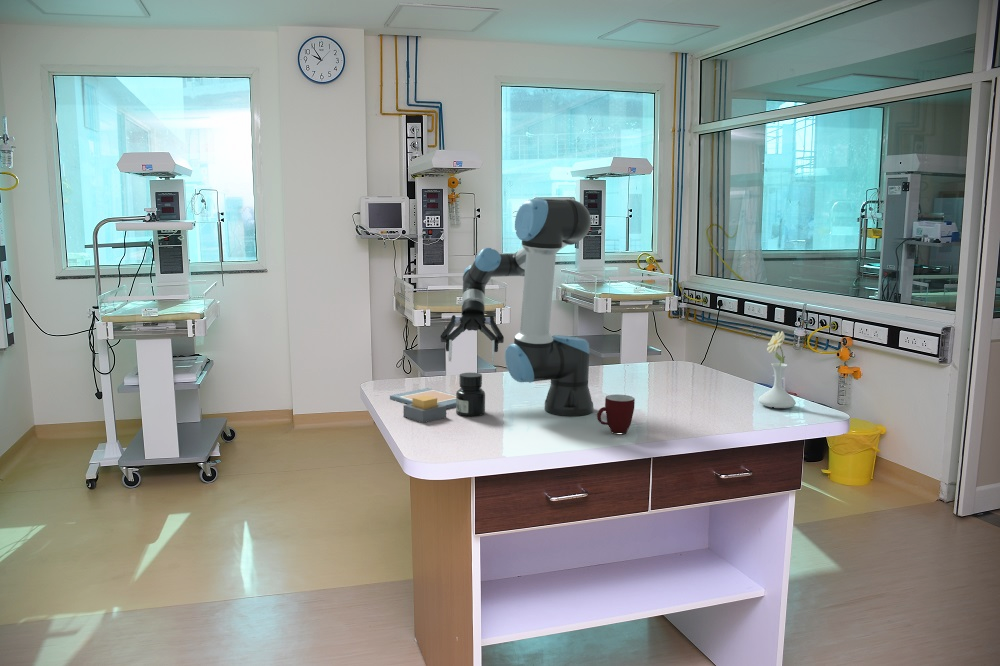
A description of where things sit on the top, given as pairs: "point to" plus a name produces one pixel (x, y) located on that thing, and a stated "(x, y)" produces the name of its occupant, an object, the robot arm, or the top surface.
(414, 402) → the button
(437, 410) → the button housing
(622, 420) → the mug
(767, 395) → the flower in vase
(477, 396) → the ink bottle
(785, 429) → the top surface
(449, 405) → the picture board
